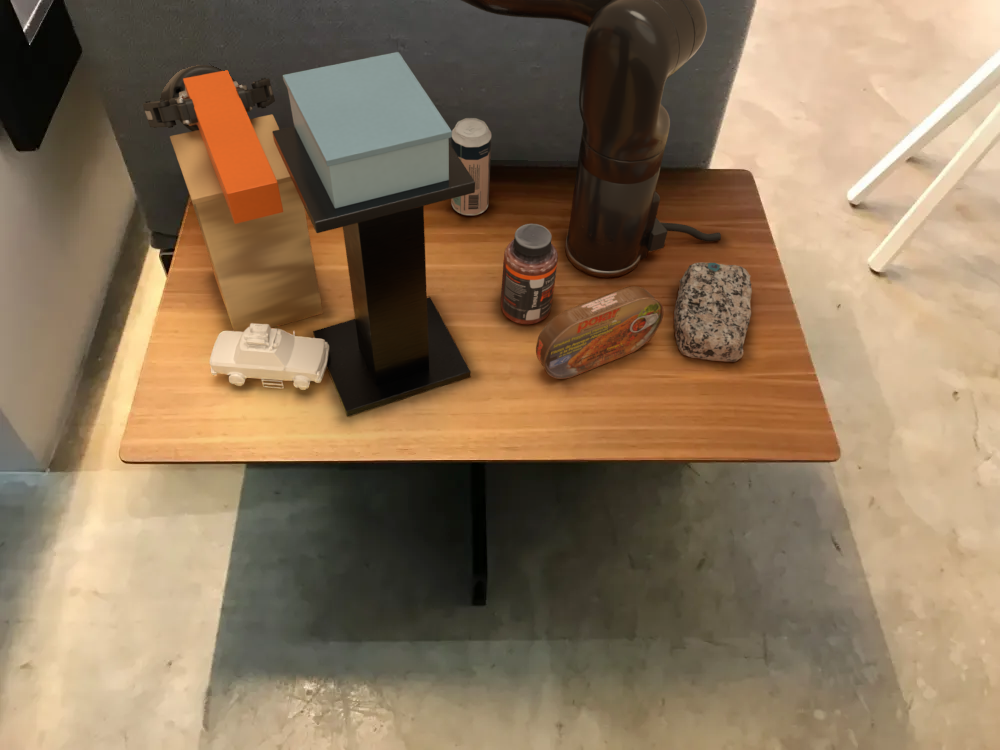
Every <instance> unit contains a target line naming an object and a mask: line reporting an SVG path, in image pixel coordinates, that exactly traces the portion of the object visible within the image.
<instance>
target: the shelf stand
mask: <svg viewBox="0 0 1000 750" xmlns="http://www.w3.org/2000/svg"><path fill="white" fill-rule="evenodd" d="M279 129H280V128H279ZM272 133H273V138H274V142H275V145H276V147H277V149H278V151H279V153H280V155H281V158H282V160H283V162H284V164H285V166H286V168H287V171H288V173H289V175H290V177H291V179H292V181H293V184H294V186H295V188H296V190H297V192H298V194H299V196H300V199H301V201H302V203H303V205H304V208H305V213H306V215H307V216H308V218H309V220H310V222H311V224H312V227H313V229H314V231H315V233H316V234H322V233H324V232H328V231H332V230H336V229H340V228H342V231H343V239H344V246H345V247H344V248H345V255H346V262H347V268H348V276H349V284H350V291H351V292H350V293H351V298H352V299H351V300H352V306H353V307H352V308H353V313H354V314H353V315H354V318H353V319H350V320H347V321H343V322H339V323H336V324H333V325H329V326H326V327H322V328H319V329H316V330H313V331H312V334H313V338H319V339H324V340H325V342H327V343H328V344H329V355H328V361H327V366H326V369H327V372H328V374H329V377H330V379H331V381H332V384H333V387H334V389H335V391H336V394H337V395H338V398H339V400H340V403H341V406H342V408H343V410H344V413H345V415H346V417H347V418H348V417H352V416H354V415H357V414H361V413H364V412H366V411H370V410H373V409H377V408H379V407H382V406H385V405H388V404H392V403H395V402H397V401H400V400H404V399H407V398H410V397H413V396H416V395H419V394H423V393H425V392H429V391H431V390H434V389H437V388H441V387H443V386H447V385H450V384H453V383H456V382H459V381H463V380H467V379H468V378H471V370H470V367H469V366H468V364H467V362H466V360H465V359H464V357H463V355H462V353H461V352H460V351H461V350H460V349H459V348H458V346H457V344H456V342H455V340H454V338H453V336H452V335H451V332H450V331H449V329H448V327H447V326H446V323H445V322H444V319H443V318H442V316H441V314H440V313H439V310H438V309H437V307H436V305H435V303H434V301H433V300H432V297H431V296H428V295H427V268H426V266H427V265H426V264H427V263H426V240H425V239H426V238H425V236H426V235H425V210H424V207H425V206H428V205H429V206H430V205H433V204H437V203H440V202H444V201H448V200H451V199H452V198H456V197H460V196H464V195H468V194H472V193H475V181H474V180H473V178H472V177H471V175H470V174H469V172H468V171H467V169H466V168H465V166H464V164H463V163H462V161H461V160H460V158H459V157H458V155H457V154H456V152H455V151H454V149H453V148H452V146H451V144H450V143H451V142H449V180H447V181H443V182H439V183H435V184H431V185H427V186H423V187H419V188H415V189H411V190H407V191H403V192H399V193H395V194H391V195H387V196H383V197H379V198H375V199H371V200H367V201H363V202H359V203H355V204H351V205H347V206H343V207H340V208H335V207H334V205H333V203H332V201H331V199H330V197H329V195H328V193H327V191H326V189H325V187H324V185H323V183H322V181H321V179H320V177H319V175H318V173H317V171H316V169H315V167H314V165H313V163H312V161H311V159H310V157H309V155H308V153H307V151H306V149H305V147H304V145H303V143H302V141H301V139H300V136H299V134H298V132H297V130H296V128H295V126H294V125H293V126H289V127H284V128H281V129H280V130H275V131H272ZM427 296H428V297H427Z"/></svg>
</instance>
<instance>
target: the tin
mask: <svg viewBox="0 0 1000 750" xmlns="http://www.w3.org/2000/svg"><path fill="white" fill-rule="evenodd" d="M663 317H664V307H663V304H662V303H661V302H660V300H659V299H657V298H655V296H654V295H652V293H650V291H649V290H648V289H646V288H644V287H642V286H637V285H636V286H635V285H634V286H627V287H624V288H621V289H618V290H616V291H613V292H610V293H607V294H604V295H602V296H599V297H597V298H594V299H591V300H589V301H586V302H583V303H581V304H579V305H576V306H573V307H570V308H568V309H565V310H563V311H562V312H560V313H558V314H557V315H555V316H554V317H553V318H551V319H550V321H548V322H547V323H546V324H545V326H544V327H543V328H542V330H541V331H540V333H539V335H538V337H537V341H536V346H535V355H536V357H537V359H538V361H539V363H540V364H541V365H542V366H543V369H544V371H545V373H546V374H547V375H548V376H550V377H551V378H553V379H557V380H558V379H559V380H565V379H566V380H567V379H569V378H573V377H574V378H575V377H576V376H579V375H581V374H583V373H586V372H588V371H591V370H594V369H596V368H598V367H600V366H603V365H605V364H608V363H611V362H613V361H616V360H618V359H620V358H623V357H625V356H626V357H627V356H628V355H630V354H632V353H634V352H636V351H637V350H639V349H641V348H642V347H643V346H644V345H645V344H647V343H648V342H649V341H650V340H651V339H652V338H653V337H654V335H655V334H656V332H657V331H658V329H659V327H660V326H661V324H662V321H663Z"/></svg>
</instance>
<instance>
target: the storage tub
mask: <svg viewBox="0 0 1000 750" xmlns="http://www.w3.org/2000/svg"><path fill="white" fill-rule="evenodd" d="M282 80H283V82H284V84H285V87H286V88H287V92H288V98H289V104H290V110H291V115H292V121H293V126H295V128H296V130H297V132H298V134H299V136H300V139H301V141H302V143H303V145H304V147H305V149H306V151H307V153H308V155H309V157H310V159H311V161H312V163H313V165H314V167H315V169H316V171H317V173H318V175H319V177H320V179H321V181H322V183H323V185H324V187H325V189H326V191H327V193H328V195H329V197H330V199H331V201H332V203H333V205H334V207H335V208H340V207H343V206H347V205H351V204H355V203H359V202H363V201H367V200H371V199H375V198H379V197H383V196H387V195H391V194H395V193H399V192H403V191H407V190H411V189H415V188H419V187H423V186H427V185H431V184H435V183H439V182H443V181H447V180H449V143H450V141H449V139H451V137H452V130H451V128H450V126H449V125H448V123H447V122H446V120H445V119H444V118H443V116H442V115H441V113H440V112H439V110H438V109H437V107H436V106H435V104H434V102H433V101H432V99H431V98H430V97H429V95H428V93H427V92H426V90H425V89H424V88H423V86H422V85H421V83H420V81H419V80H418V79H417V77H416V76H415V74H414V73H413V71H412V70H411V68H410V67H409V65H408V64H407V62H406V61H405V59H404V58H403V56H402V55H401V53H400V52H399V51H395V52H391V53H385V54H381V55H380V54H379V55H376V56H370V57H366V58H361V59H356V60H351V61H346V62H341V63H336V64H335V63H334V64H331V65H325V66H321V67H316V68H312V69H307V70H301V71H296V72H291V73H287V74H283V75H282Z"/></svg>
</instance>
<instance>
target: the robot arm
mask: <svg viewBox="0 0 1000 750" xmlns="http://www.w3.org/2000/svg"><path fill="white" fill-rule="evenodd" d="M460 1H461V2H463V3H465V4H468V5H469V6H472V7H475V8H476V9H478V10H481V11H484V12H485V13H490V14H494V15H499V16H504V17H505V16H506V17H513V18H527V19H545V20H546V19H549V20H562V21H567V22H571V23H577V24H579V25H582V26H585V27H587V29H586V33H585V37H584V42H583V48H582V57H581V69H580V79H579V93H578V94H579V95H578V107H579V112H580V116H581V119H582V129H581V130H582V131H581V137H580V142H579V143H580V144H579V152H578V159H577V164H576V172H575V178H574V179H575V180H574V186H573V187H574V188H573V194H572V201H571V210H570V216H569V222H568V229H567V234H566V239H565V245H564V250H565V256H566V257H567V259H568V261H569V262H570V263H571V264H572V265H573V266H574V267H575V268H576V269H578V270H579V271H581V272H583V273H585V274H587V275H589V276H593V277H598V278H617V277H621V276H623V275H626V274H628V273H630V272H632V271H633V270H634V269H635V268H636V267H637V266H638V265H639V263H640V261H641V260H643V259H646V258H647V256H648V252H650V253H651V252H655V251H659V250H661V249H664V247H665V245H666V244H665V243H666V240H667V236H668V232H677V233H681V234H682V233H683V234H687V235H689V236H691V237H693V238H695V239H697V240H699V241H702V242H705V243H706V242H709V243H711V242H719V241H721V238H722V235H721V232H713V233H706V232H702V231H700V230H698V229H697V228H695V227H693V226H690V225H687V224H682V223H675V222H661V221H660V220H659V218H657V215H658V210H659V206H660V202H661V197H660V195H659V193H658V192H657V191H656V190H657V185H658V180H659V176H660V172H661V167H662V162H663V158H664V154H665V149H666V146H667V143H668V138H669V133H670V128H671V119H670V115H669V113H668V111H667V109H666V108H665V106H663V104H662V98H663V92H664V90H665V89H664V88H665V85H666V81H667V80H668V79H669V78H670V77H672V76H673V75H674V74H675V73H676V72H677V71H678V70H679V69H681V68H682V67H683V66H684V65H685V64H686V63H688V61H689V60H691V59H692V57H693V56H695V54H696V53H697V52H698V50H699V49H700V47H702V45H703V43H704V41H705V38H706V34H707V30H708V24H707V16H706V13H705V9H704V7H703V5H702V4H701V1H700V0H460ZM220 71H223V70H221V69H219V68H217V67H214V66H212V65H207V64H197V65H196V66H191V67H188V68H186V69H182V70H180V71H179V72H177V73H176V74H175V75H174V76H173V77H172V78H171V79H170V80H169V82H168V83H167V84H166V86H165V87H164V89H163V91H162V93H161V98H160V101H156V100H153V101H151V100H146V101H145V102H143V103H142V107H143V111H144V113H145V117H146V119H147V123H148V126H149V128H153V129H156V128H167V129H171V128H174V126H177V122H176V121H180V123H181V124H182V125H183V126H184V127H186V128H187V129H188V130H189V131H190V132H192V131H196V130H199V128H198V126H197V122H198V120H197V116H196V113H195V110H194V104H193V101H192V99H190V98H188V96H187V92H186V88H185V85H184V81H183V78H189V77H194V76H199V75H204V74H209V73H215V72H220ZM231 78H232V77H231ZM232 80H233V83H234V85H235V87H236V89H237V90H236V91H237V93H238V95H239V98H241V101H242V103H243V105H244V107H245V110H246V112H247V113H249V112H251V111H252V110H254V108H253V107H255V106H257V108H259V109H260V108H261V109H266V108H267V107H269V106H271V105H272V104H273V103H275V102H276V99H275V95H274V91H273V87H272V84H271V80H270V78H267V77H262V78H260V79H258V80H256V81H252V83H251V85H250V86H251V88H249V89H248V86H247V84H244V83H243V84H241V85H239V84H238V82H237V81H235V80H234V79H233V78H232Z"/></svg>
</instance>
